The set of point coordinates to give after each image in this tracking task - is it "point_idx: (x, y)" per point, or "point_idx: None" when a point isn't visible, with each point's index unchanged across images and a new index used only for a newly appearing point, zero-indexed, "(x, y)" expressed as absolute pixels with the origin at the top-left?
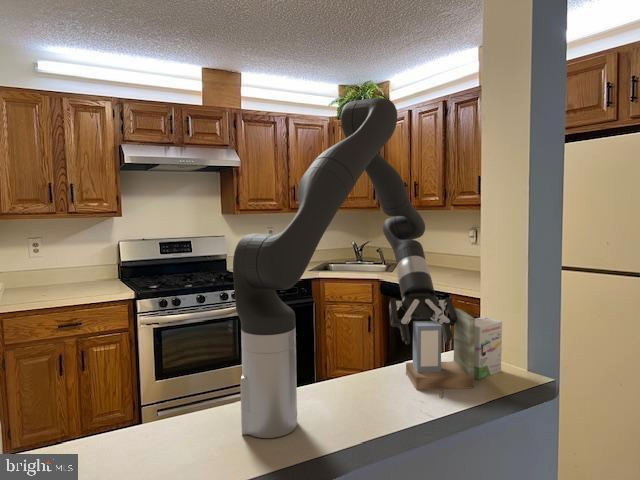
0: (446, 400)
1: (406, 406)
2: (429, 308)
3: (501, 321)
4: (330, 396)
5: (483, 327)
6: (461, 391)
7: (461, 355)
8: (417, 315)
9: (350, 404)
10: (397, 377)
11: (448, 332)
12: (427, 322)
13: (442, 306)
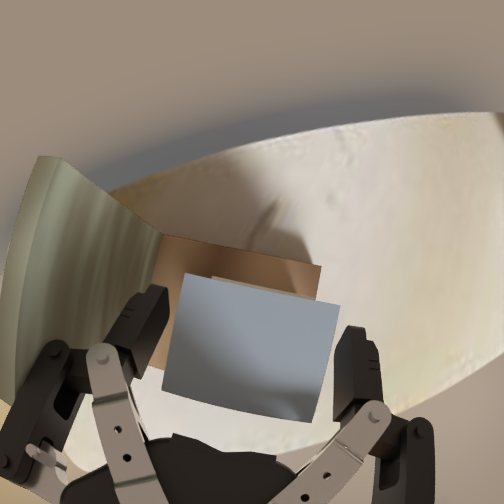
0: (269, 188)
1: (373, 187)
2: (157, 475)
3: None
4: (493, 283)
5: (3, 275)
6: (201, 227)
7: (131, 290)
8: (268, 456)
9: (470, 234)
10: (326, 368)
11: (140, 304)
12: (232, 374)
13: (59, 463)
